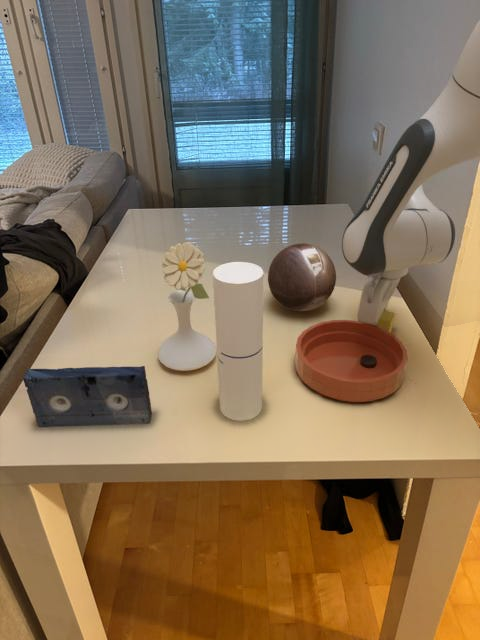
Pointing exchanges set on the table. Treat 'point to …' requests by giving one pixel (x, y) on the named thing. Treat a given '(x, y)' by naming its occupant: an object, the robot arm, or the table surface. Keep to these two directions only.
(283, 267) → the wooden sphere
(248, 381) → the cylindrical container
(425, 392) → the table surface
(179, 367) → the flower in vase
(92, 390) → the vhs cassette tape
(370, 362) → the dark grey flat disc
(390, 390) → the bowl
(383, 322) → the sponge
